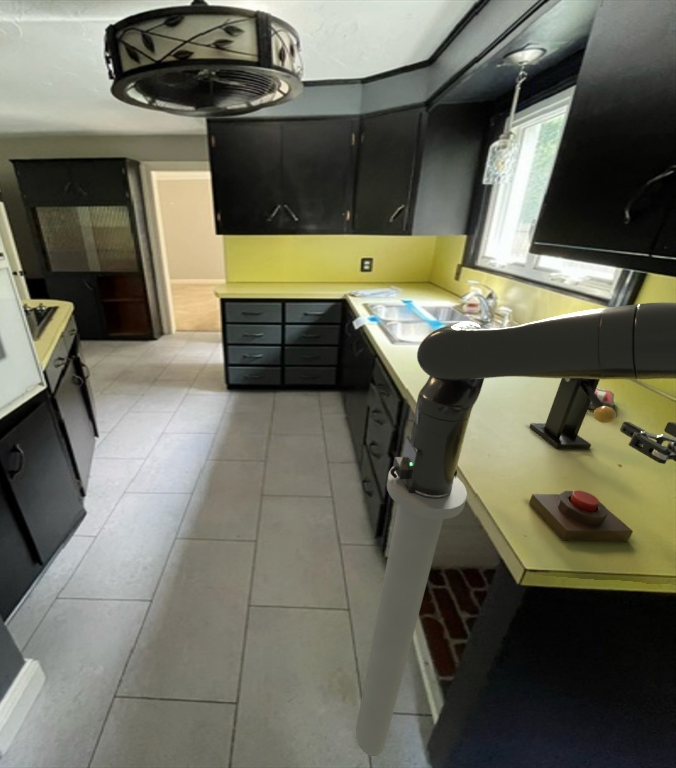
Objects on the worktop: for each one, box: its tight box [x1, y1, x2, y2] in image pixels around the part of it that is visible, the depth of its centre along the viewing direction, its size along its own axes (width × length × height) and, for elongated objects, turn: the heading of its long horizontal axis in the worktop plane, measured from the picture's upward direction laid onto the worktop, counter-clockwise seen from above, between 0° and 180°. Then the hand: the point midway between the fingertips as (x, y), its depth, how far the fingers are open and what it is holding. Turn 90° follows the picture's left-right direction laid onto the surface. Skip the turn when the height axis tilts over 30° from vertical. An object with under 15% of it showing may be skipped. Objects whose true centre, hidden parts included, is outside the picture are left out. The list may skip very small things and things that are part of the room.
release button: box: [570, 490, 600, 512], centre depth 63 cm, size 4×4×2 cm
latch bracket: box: [529, 378, 601, 450], centre depth 87 cm, size 10×8×18 cm
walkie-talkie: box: [588, 387, 615, 411], centre depth 105 cm, size 9×4×20 cm
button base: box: [528, 490, 634, 542], centre depth 64 cm, size 11×9×4 cm
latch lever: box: [580, 379, 617, 424], centre depth 81 cm, size 13×4×4 cm, turn 0°
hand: (645, 426), depth 69 cm, fingers open, 8 cm apart
